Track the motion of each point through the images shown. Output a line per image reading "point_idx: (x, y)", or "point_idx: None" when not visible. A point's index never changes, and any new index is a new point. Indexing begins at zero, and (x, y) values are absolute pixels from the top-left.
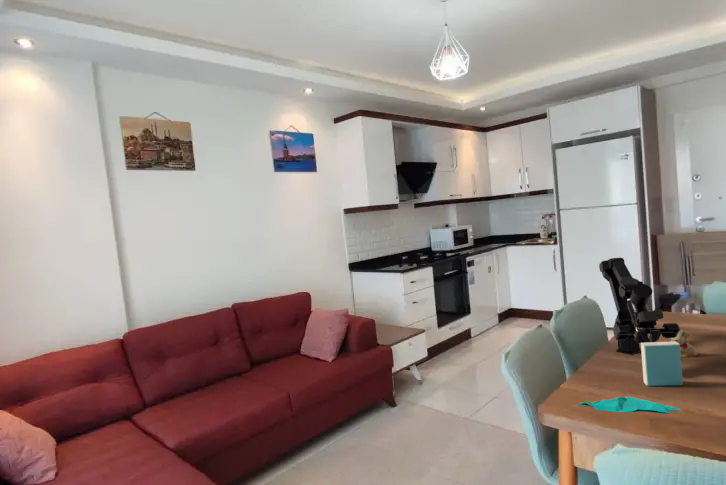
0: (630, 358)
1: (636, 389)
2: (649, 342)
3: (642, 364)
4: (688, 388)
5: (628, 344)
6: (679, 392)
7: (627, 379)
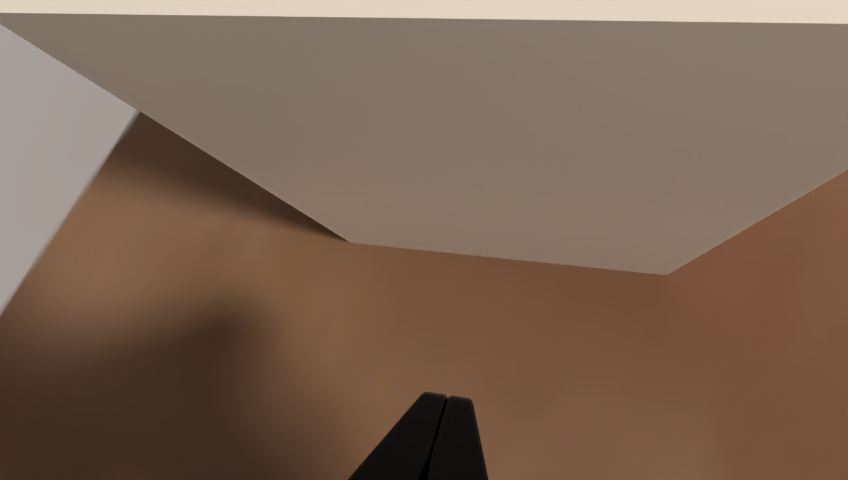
0: None
1: None
2: (719, 5)
3: (737, 228)
4: None
5: None
6: None
7: (812, 387)
